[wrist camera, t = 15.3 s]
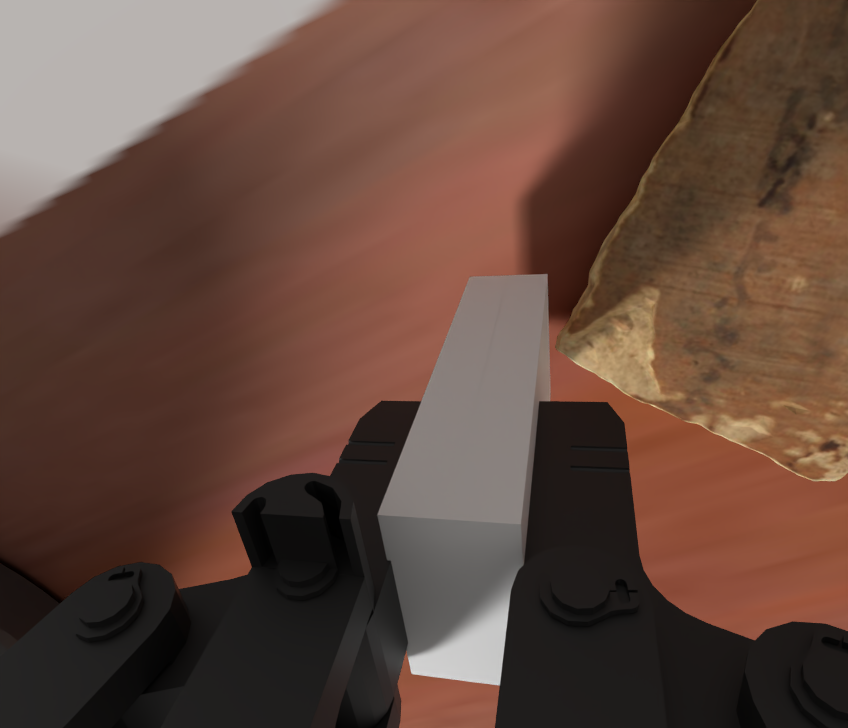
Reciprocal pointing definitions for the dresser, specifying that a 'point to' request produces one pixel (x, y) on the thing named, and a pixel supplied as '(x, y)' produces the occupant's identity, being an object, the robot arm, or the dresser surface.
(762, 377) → the shard
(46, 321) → the dresser surface
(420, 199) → the dresser surface
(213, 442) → the dresser surface
